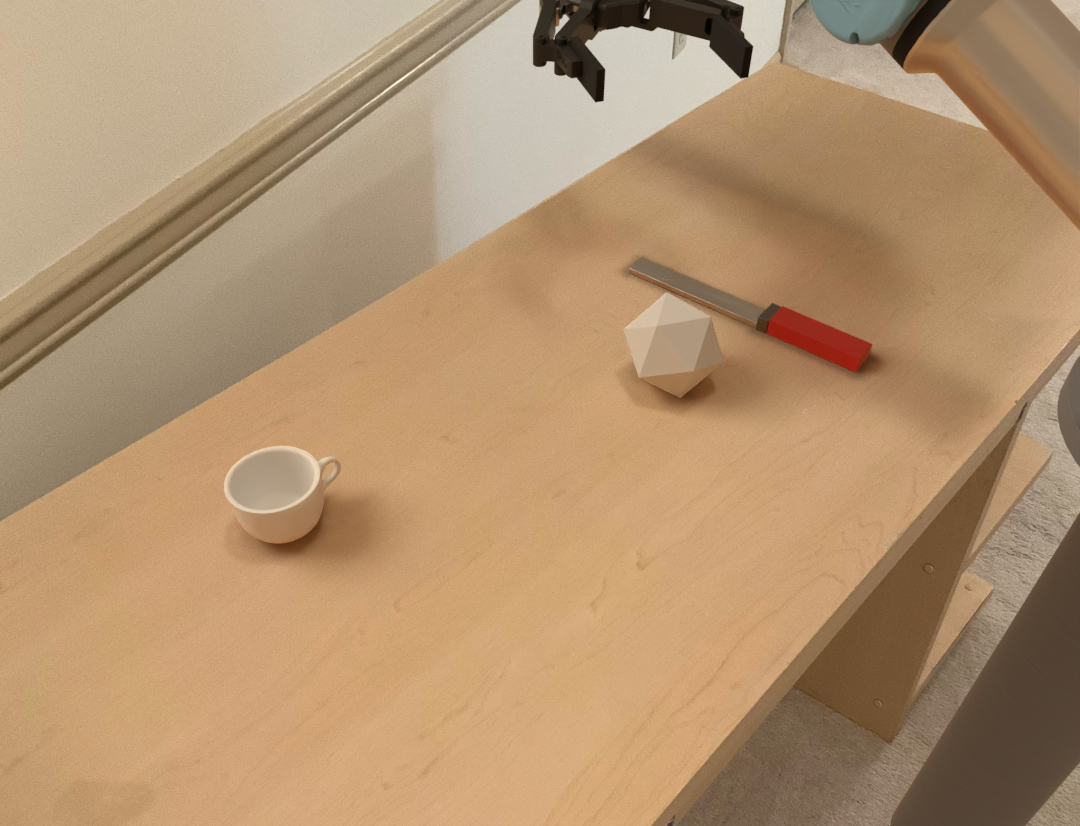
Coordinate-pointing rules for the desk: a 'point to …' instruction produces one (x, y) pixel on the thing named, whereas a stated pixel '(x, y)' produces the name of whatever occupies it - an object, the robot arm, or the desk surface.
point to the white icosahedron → (673, 345)
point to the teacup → (278, 492)
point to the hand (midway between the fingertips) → (675, 74)
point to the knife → (763, 317)
